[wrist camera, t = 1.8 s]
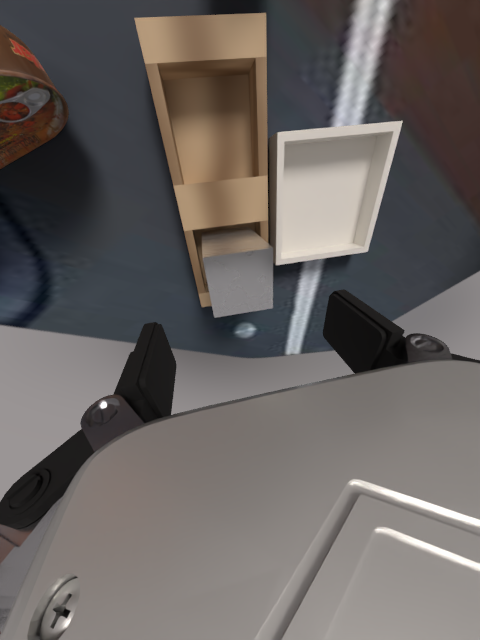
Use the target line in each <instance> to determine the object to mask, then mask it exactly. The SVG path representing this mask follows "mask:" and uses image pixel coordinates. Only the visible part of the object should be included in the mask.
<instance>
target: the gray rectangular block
mask: <svg viewBox="0 0 480 640" xmlns="http://www.w3.org/2000/svg"><path fill="white" fill-rule="evenodd" d="M202 258H203V263H204V268H205V273H206V278H207V283H208V289H209V294H210V299H211V304H212V309H213V314H214V318H216V317H222V316H228V315H234V314H240V313H246V312H252V311H258V310H264V309H270V308H273V247H272V246H270V245H269V244H268V243H267V242H266V241H265V240H263V239H262V238H261V237H260V236H259V235H258V234H256V233H255V232H254V231H253V230H252V229H251V228H249V227H248V226H247V227H240V228H232V229H224V230H217V231H209V232H202Z"/></svg>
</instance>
